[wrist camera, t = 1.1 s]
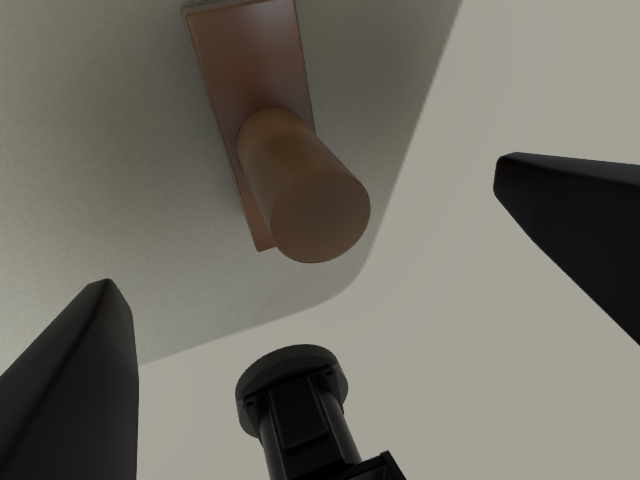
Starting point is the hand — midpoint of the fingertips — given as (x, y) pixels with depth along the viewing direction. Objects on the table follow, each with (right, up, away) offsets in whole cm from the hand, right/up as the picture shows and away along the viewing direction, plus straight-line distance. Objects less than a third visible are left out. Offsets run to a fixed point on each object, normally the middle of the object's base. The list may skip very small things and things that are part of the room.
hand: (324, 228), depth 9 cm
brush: (-3, +4, +6) cm, 8 cm away
